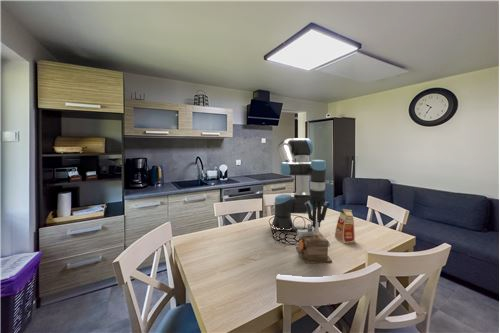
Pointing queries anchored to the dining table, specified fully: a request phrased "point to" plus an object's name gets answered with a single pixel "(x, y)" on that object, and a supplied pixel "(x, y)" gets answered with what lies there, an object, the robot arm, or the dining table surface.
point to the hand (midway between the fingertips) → (316, 232)
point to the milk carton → (345, 227)
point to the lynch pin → (302, 244)
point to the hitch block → (314, 249)
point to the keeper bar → (306, 232)
